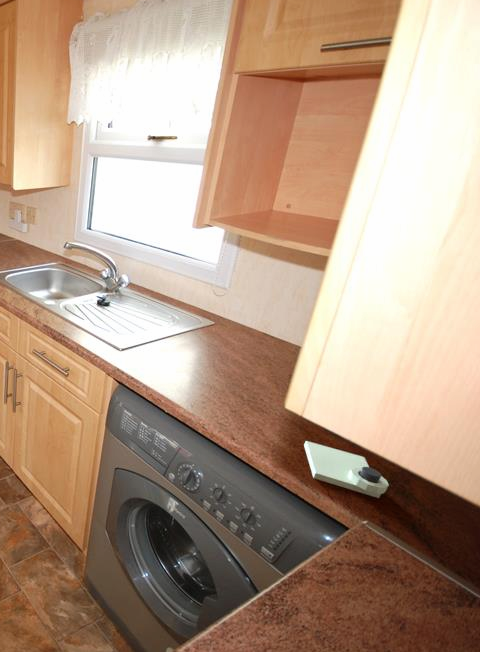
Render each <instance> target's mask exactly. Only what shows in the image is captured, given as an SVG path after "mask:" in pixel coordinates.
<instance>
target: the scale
mask: <svg viewBox="0 0 480 652" xmlns="http://www.w3.org/2000/svg"><path fill="white" fill-rule="evenodd" d="M303 446H304V451H305V453H306V457H307V461H308V464H309V467H310V471H311V474H312V478H313V479H316V480H319V481H322V482H324V483H327V484H328V483H329V484H332V485H335V486H338V487H341V488H345V489H347V490H351V491H354V492H358V493H360V494H363V495H367V496H371V497H374V498H377V499H380V497H381V495H383V494H384V493H385V492H386V491H387V490H388V488H389V486H390V484H389V483H388V480H387V479H386V478H384V477H383V476H382V475H381V478H380V480H379V482H378V483H372V482H369V481H367V480H365V479H363V478H362V477H361V476H360V472H361V470H362V468H363V467H370V466H369V464H368V462H367V459H366V457H365V456H362V455H358V454H354V453H351V452H348V451H344V450H340V449H338V448H337V449H336V448H333V447H329V446H326V445H323V444H319V443H315V442H311V441H308V440H305V442H304V444H303Z"/></svg>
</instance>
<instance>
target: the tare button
mask: <svg viewBox="0 0 480 652" xmlns="http://www.w3.org/2000/svg"><path fill="white" fill-rule="evenodd" d="M360 476H361V477H362V478H363V479H365V480H367V481H369V482H372V483H378V482H379V480H380V478H381V476H382V473H381V472H380V471H379V470H377V469H375V468H372V467H370V466H369V467H363V468H362V470H361V472H360Z"/></svg>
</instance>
